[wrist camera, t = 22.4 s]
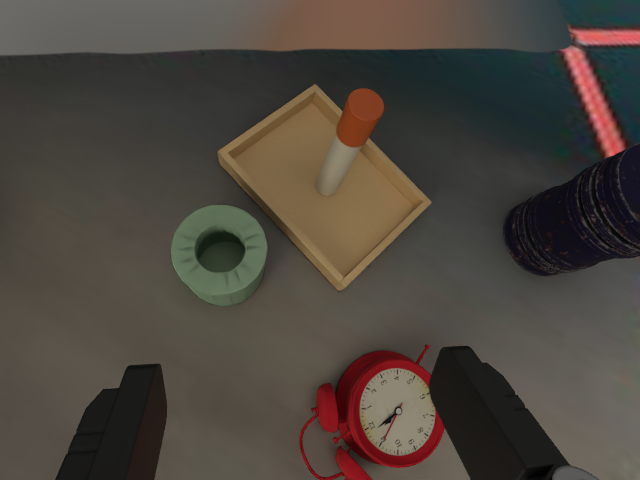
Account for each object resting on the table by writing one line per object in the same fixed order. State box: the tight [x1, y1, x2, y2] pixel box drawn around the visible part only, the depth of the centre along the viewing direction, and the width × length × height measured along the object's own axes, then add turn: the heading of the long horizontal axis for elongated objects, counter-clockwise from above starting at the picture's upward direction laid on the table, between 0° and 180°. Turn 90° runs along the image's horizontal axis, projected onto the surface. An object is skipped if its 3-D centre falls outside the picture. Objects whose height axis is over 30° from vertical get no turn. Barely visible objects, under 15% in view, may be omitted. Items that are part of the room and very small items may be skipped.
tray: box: [218, 84, 432, 291], centre depth 41 cm, size 20×15×3 cm
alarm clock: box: [300, 344, 444, 480], centre depth 34 cm, size 10×6×15 cm
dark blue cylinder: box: [503, 143, 640, 276], centre depth 38 cm, size 10×10×18 cm
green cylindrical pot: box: [171, 205, 268, 306], centre depth 34 cm, size 8×8×8 cm
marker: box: [315, 88, 384, 196], centre depth 35 cm, size 3×3×15 cm
